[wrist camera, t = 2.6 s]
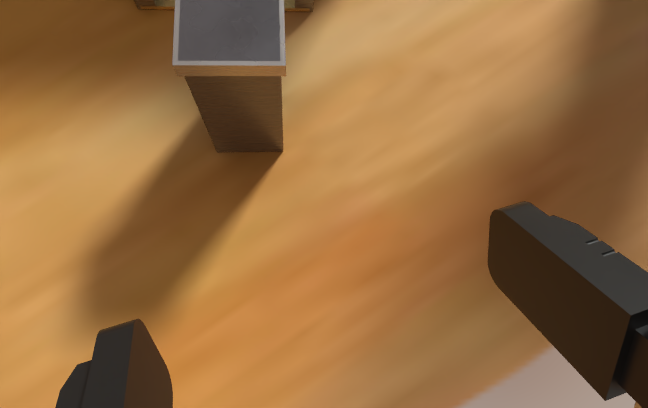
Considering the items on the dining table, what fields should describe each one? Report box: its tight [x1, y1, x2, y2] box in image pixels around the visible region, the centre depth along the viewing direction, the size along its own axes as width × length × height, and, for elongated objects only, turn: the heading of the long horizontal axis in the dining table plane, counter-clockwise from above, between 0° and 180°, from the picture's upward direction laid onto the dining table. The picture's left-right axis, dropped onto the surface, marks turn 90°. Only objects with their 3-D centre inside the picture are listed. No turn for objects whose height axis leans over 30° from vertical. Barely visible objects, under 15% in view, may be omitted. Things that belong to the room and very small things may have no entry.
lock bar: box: [172, 0, 286, 152], centre depth 23 cm, size 4×4×10 cm
